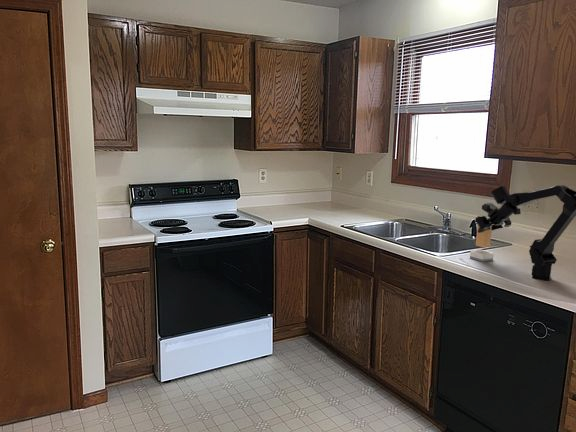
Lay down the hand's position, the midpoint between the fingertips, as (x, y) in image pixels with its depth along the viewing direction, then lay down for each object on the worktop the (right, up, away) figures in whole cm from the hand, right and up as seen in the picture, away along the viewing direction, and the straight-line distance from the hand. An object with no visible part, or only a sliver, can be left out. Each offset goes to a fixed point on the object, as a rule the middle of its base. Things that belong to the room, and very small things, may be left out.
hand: (481, 231), depth 226 cm
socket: (0, -13, +1) cm, 13 cm away
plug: (0, -7, 0) cm, 7 cm away
